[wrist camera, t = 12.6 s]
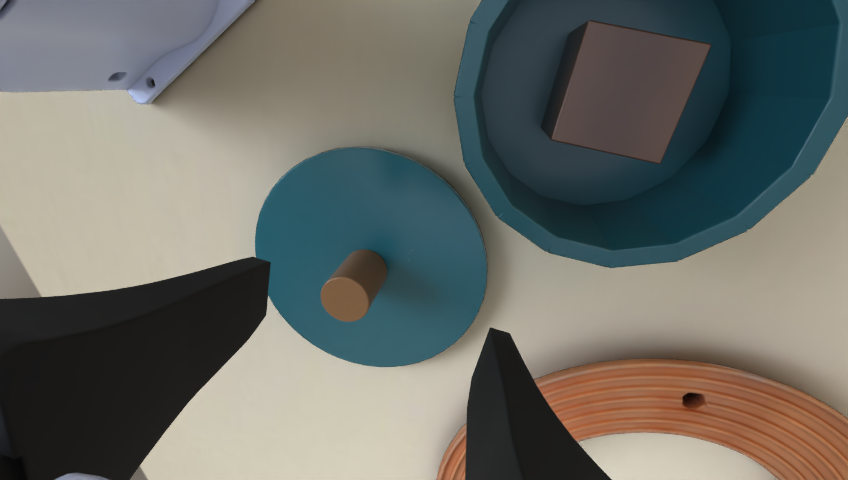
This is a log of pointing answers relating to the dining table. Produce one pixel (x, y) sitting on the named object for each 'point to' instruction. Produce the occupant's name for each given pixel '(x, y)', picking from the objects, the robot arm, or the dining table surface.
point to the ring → (693, 414)
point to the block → (622, 89)
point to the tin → (693, 137)
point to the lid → (372, 256)
